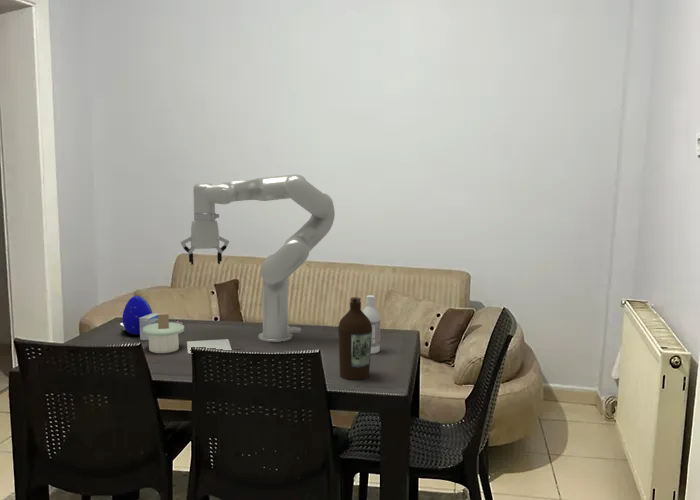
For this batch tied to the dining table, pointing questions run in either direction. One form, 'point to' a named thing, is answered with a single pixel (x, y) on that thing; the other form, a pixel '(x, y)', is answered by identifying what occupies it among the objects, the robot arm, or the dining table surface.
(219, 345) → the mat
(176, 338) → the bowl
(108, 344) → the dining table surface
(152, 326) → the lid
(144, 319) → the medicine box
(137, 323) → the ornament
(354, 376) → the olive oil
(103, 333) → the dining table surface
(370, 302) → the bath foam
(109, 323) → the dining table surface
